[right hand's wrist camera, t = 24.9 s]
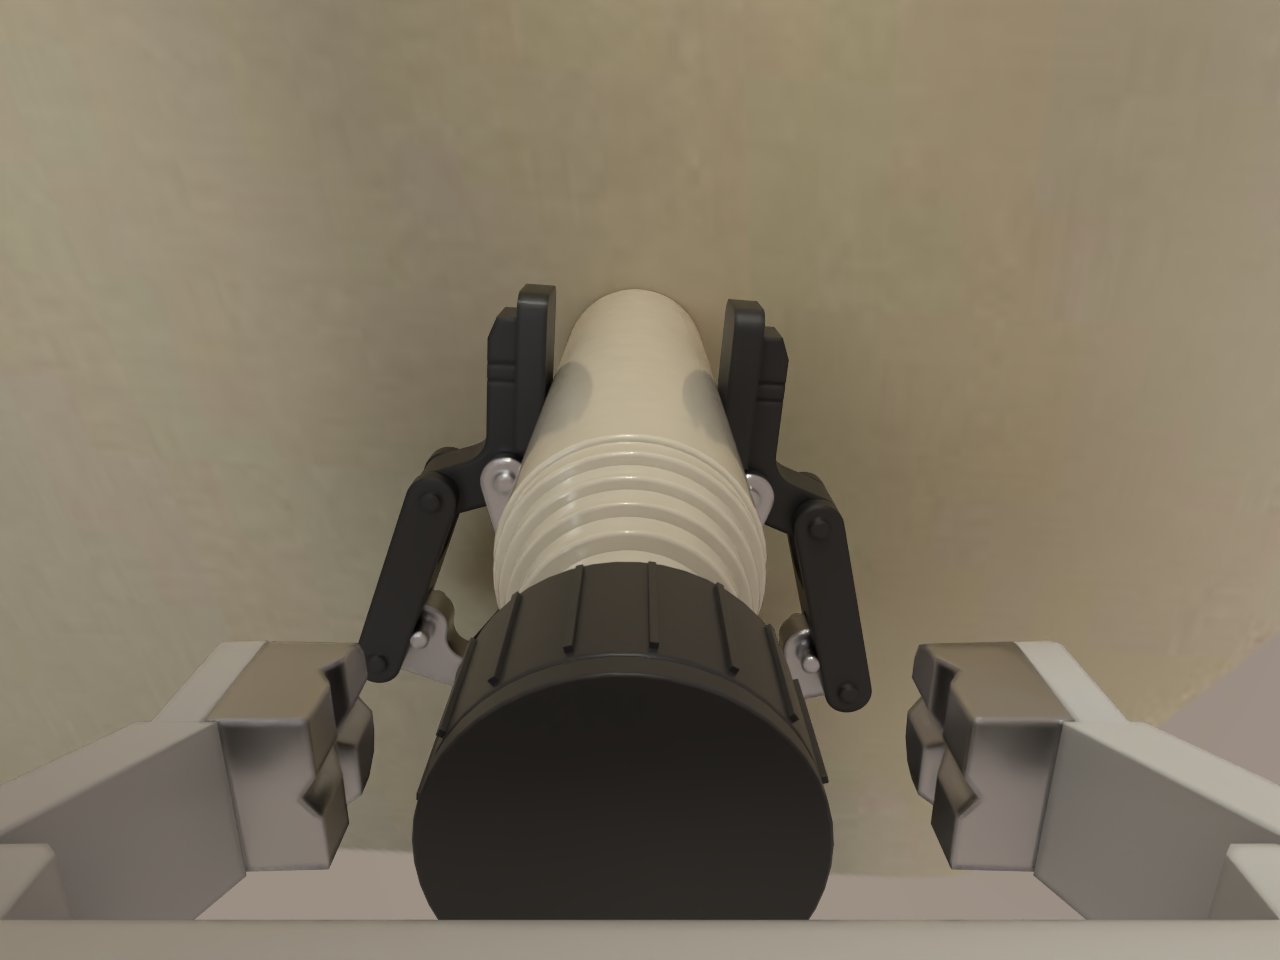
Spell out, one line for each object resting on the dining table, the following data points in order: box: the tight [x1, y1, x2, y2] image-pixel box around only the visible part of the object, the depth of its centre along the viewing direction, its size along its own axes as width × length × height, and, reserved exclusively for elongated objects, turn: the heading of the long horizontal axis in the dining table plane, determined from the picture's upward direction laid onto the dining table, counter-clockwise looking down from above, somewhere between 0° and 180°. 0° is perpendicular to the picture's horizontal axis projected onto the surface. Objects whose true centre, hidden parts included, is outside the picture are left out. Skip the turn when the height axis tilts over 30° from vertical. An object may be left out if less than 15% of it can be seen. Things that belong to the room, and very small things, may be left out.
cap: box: [412, 561, 834, 920], centre depth 9 cm, size 4×4×2 cm
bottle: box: [493, 289, 767, 615], centre depth 18 cm, size 4×4×20 cm
